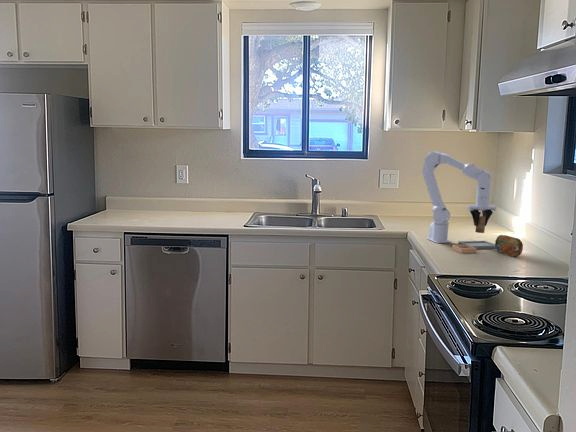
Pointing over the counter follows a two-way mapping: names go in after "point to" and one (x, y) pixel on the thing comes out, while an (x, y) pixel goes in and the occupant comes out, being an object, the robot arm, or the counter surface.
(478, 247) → the tray
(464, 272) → the counter surface
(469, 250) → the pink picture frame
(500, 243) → the tin
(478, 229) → the brown rounded cylinder
